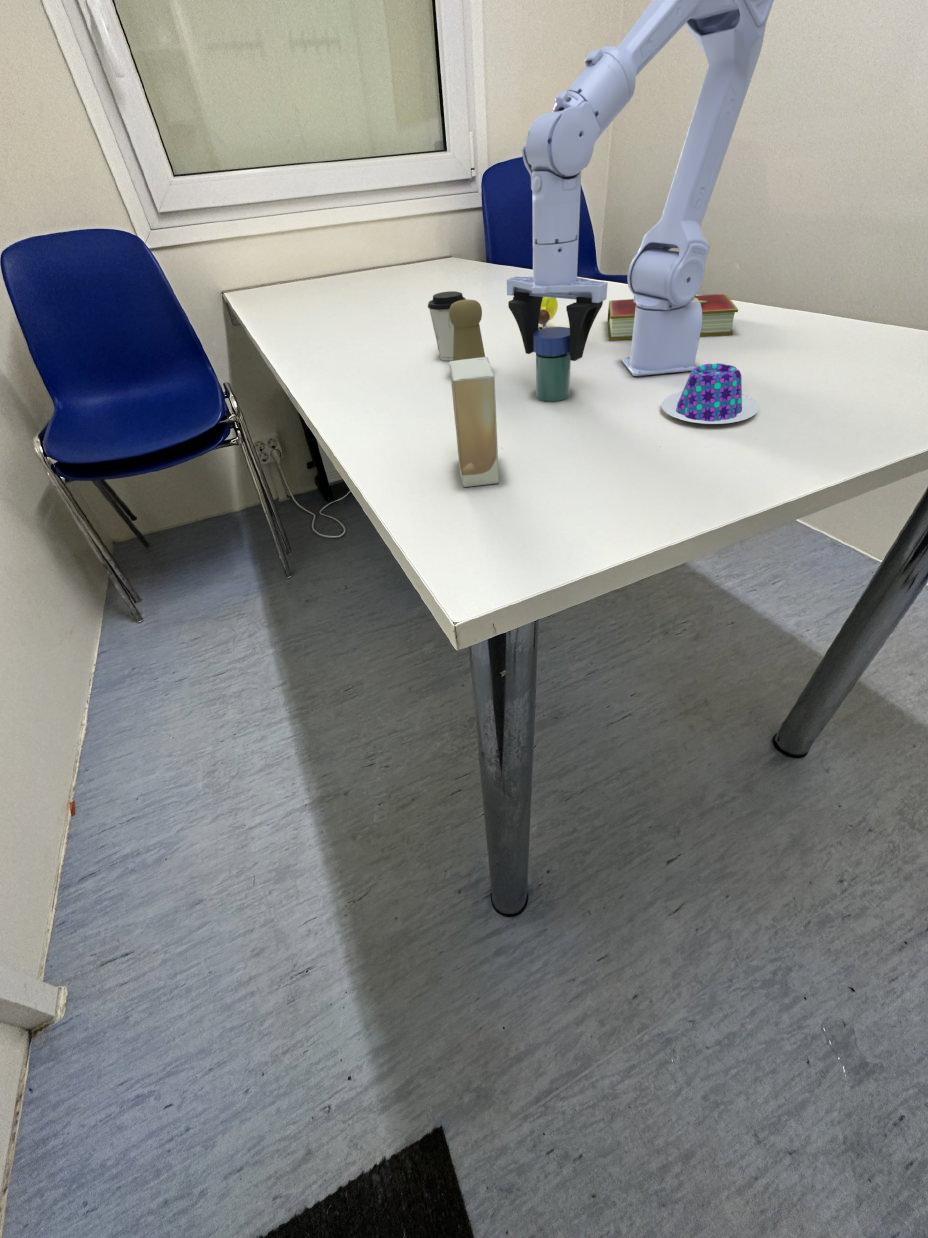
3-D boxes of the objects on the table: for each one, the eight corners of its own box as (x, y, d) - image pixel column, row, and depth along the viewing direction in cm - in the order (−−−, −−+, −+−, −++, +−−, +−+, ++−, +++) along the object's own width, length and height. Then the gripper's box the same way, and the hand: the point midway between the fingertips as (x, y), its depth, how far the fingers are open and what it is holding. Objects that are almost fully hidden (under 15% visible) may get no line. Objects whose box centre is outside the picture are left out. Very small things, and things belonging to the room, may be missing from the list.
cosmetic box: (458, 464, 67) (448, 359, 59) (493, 460, 67) (487, 354, 59) (462, 489, 62) (451, 378, 54) (500, 485, 62) (494, 373, 54)
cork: (484, 380, 89) (480, 304, 81) (448, 381, 90) (441, 306, 83) (491, 367, 93) (487, 294, 86) (456, 368, 94) (450, 296, 87)
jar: (566, 387, 83) (568, 330, 78) (572, 399, 79) (574, 340, 74) (533, 391, 83) (533, 334, 78) (538, 403, 79) (538, 344, 74)
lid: (533, 344, 79) (533, 328, 78) (572, 341, 79) (573, 325, 77) (533, 356, 75) (533, 339, 74) (575, 354, 74) (575, 336, 73)
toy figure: (531, 319, 114) (530, 281, 110) (557, 317, 113) (558, 279, 109) (526, 344, 101) (525, 303, 97) (556, 343, 100) (557, 301, 96)
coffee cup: (427, 361, 99) (419, 299, 92) (443, 350, 103) (436, 289, 97) (462, 363, 96) (457, 299, 90) (476, 350, 101) (472, 289, 94)
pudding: (726, 389, 77) (735, 349, 74) (776, 420, 68) (789, 377, 65) (645, 401, 76) (650, 362, 73) (685, 435, 67) (693, 392, 64)
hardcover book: (607, 322, 107) (609, 298, 104) (720, 316, 103) (725, 291, 101) (608, 340, 99) (610, 314, 96) (732, 334, 95) (738, 307, 92)
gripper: (490, 245, 70) (496, 356, 79) (589, 247, 62) (582, 370, 71) (523, 235, 74) (524, 343, 83) (619, 236, 66) (609, 355, 75)
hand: (553, 355), depth 77 cm, fingers open, 7 cm apart
